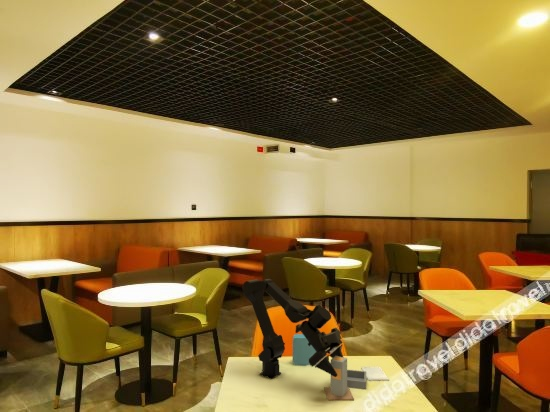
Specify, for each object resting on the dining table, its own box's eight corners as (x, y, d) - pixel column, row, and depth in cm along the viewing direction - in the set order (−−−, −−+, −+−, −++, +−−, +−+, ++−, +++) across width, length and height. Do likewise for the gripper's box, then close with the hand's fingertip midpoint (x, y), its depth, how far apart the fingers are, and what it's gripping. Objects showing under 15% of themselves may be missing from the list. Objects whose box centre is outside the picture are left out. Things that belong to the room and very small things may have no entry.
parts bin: (338, 387, 146) (338, 379, 146) (340, 376, 155) (340, 368, 155) (365, 390, 143) (365, 382, 143) (366, 379, 153) (366, 371, 153)
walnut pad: (328, 401, 134) (327, 398, 134) (324, 390, 143) (324, 387, 143) (353, 401, 134) (353, 398, 134) (348, 389, 143) (348, 387, 143)
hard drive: (361, 366, 163) (368, 379, 150) (380, 366, 163) (389, 379, 150) (361, 370, 163) (368, 383, 150) (380, 370, 163) (389, 383, 150)
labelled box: (330, 393, 138) (330, 359, 138) (335, 388, 142) (335, 355, 142) (342, 396, 136) (342, 362, 136) (347, 391, 140) (347, 357, 140)
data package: (320, 362, 171) (320, 334, 171) (320, 366, 166) (320, 337, 166) (292, 361, 171) (292, 334, 172) (292, 365, 167) (292, 337, 167)
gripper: (316, 328, 134) (347, 367, 128) (337, 316, 150) (365, 350, 144) (296, 347, 138) (325, 386, 132) (318, 333, 153) (345, 367, 147)
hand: (341, 371), depth 138 cm, fingers open, 9 cm apart
